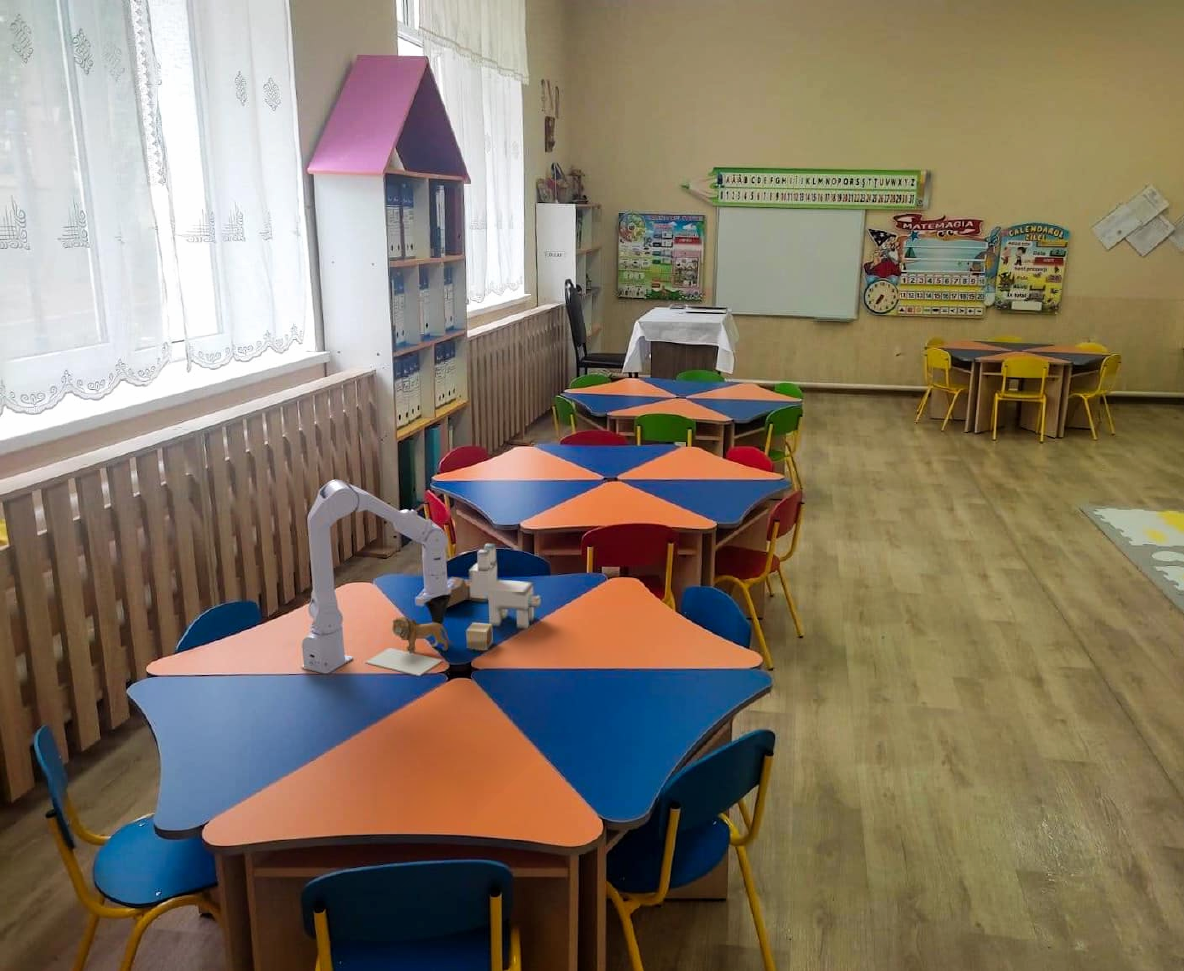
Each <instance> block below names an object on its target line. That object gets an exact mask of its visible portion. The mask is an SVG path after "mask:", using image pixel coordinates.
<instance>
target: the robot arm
mask: <svg viewBox="0 0 1184 971" xmlns="http://www.w3.org/2000/svg"><path fill="white" fill-rule="evenodd" d="M349 486H350V487H349ZM354 511H355V512H357V513H360V512H362V511H363V512H364V511H369V512H371V513H373V514H375V515H377V516H379V517H381V518H383V519H385V520H387V521H389V522H391V523H392V525H393V528H394V530H395V531H396V532H398V533H400V534H401V535H403V536H406V537H407V538H409V539H411V540H413V541H414V542H417V543H420V544H422V545H421V551H422V552H421V553H422V556H421V557H422V569H423V570H422V572H423V574H422V575H423V587H424V588H423V589H422V591H421V592H420V593H419V594H418V596H415V598H414V603H415V606H418V607H423V606H426V608H427V609H428V610H427V611H428V612H429V614H430V617H431V619H432V623H433V622H435V623H439V624H441V625H442V624H443V623H444V619H445V615H446V610H447V608H446V607H447V605H448V602H449V600H450V599H451V595H450V593H451V590H450V589H451V588H456V587H457V583H456V580H454V579H450V578H448V572H447V571H448V570H447V556H446V555H447V554H446V547H447V545H448V543H449V538H448V536H447V534H446V531H445V530H444V529H442V528H441V527H440V526H439V525H437V524H436V523H435V522H434V521H433V520H432V519H426V518H424V517H422V516H420V515H418V512H417V511H416V510H414V509H411V510H409V509H402V510H398V509H396V508H395V507H393V506H391V505H390V504H388V503H386V502H385V501H383V500H382V499H379V498H378V497H376V496H375V495H373V494H371V493H370V492H367V491H366V490H364V489H361V488H359V487H357V486H355V485H353V484H347V483H346V482H345V481H344V480H340V479H332V480H330V481H328V482H327V483H326V484H325V485H324V486H323V487H321V488H320V489H319V490H318V493H317V497H316V499H315V501H314V503H313V505H312V507H311V509H310V510H309V512H308V515H307V519H306V520H307V521H306V522H307V531H308V532H307V533H308V543H309V555H310V556H309V557H310V568H311V570H310V571H311V579H312V591H311V593H310V594H311V600H310V603H309V604H308V608H307V609H308V614H309V616H310V617H311V618H312V620H313V621H312V623H311V626H310V632H309V633H308V635H307V636H306V637H304V639H303V640H302V644H301V647H302V658H303V664H302V665H301V668H302V669H305V670H309V671H313V672H317V673H321V674H329V673H331V672H334V670H336V669H338V668H339V667H341V666H343V665H345V664H347V663H348V662H351V661H352V660H353V659H354V657H353V656H351V655H347V654H346V653H345V642H344V631H343V621H344V618H343V614H342V612H341V610H340V609H339V604H338V598H337V596H336V595H337V594H336V591H335V579H334V578H335V577H334V566H333V565H334V564H333V551H332V538H331V526H333V525H334V523H336V522H337V521H338V520H339V519H342V518H344V517H346V516H347V515H350V514H352V513H353V512H354ZM448 579H449V580H448Z"/></svg>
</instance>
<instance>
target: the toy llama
mask: <svg viewBox="0 0 1184 971" xmlns="http://www.w3.org/2000/svg"><path fill="white" fill-rule="evenodd" d="M476 555H477V562H476V563H474V564H473V565H472V566H471V567H470V568H469V569H468V578H469V579H468V580H469V583H470V597H472V598H485V599H487V600H488V616H489V618H488V621H489V624H492V627H500V626H501V624H503V620H506V619H507V617H508V616H509V612H508V610H513V611H516V629H525V630H527V629H528V627H529V626H530V622H533V621H534V620H535V617H536V616H535V615H536V613H535V612H536V611H535V609H538V608H539V607H540V606H541V595H540V594H535V585H534V584H535V583H534V581H533V582H532V581H519V580H507V579H498V559H497V543H491V542H490V543H489V542H488V543H485V545H484V546H483V548H482V549H479V550H478V551H477V552H476Z"/></svg>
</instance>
